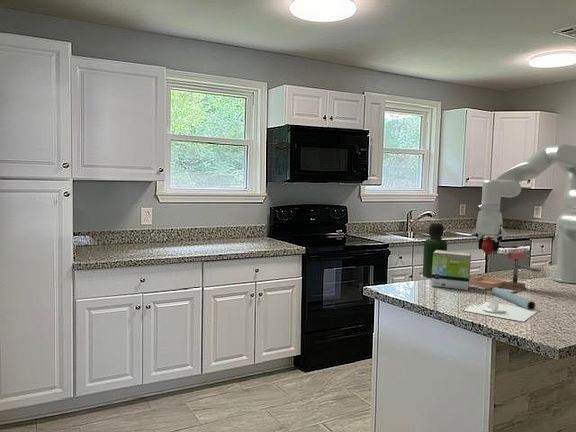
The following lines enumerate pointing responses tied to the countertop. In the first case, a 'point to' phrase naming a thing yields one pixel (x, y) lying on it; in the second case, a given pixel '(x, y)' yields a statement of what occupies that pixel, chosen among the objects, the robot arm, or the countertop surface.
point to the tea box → (451, 269)
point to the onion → (488, 246)
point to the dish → (486, 282)
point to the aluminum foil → (514, 298)
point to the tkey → (516, 257)
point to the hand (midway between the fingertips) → (488, 249)
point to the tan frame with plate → (511, 286)
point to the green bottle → (433, 247)
